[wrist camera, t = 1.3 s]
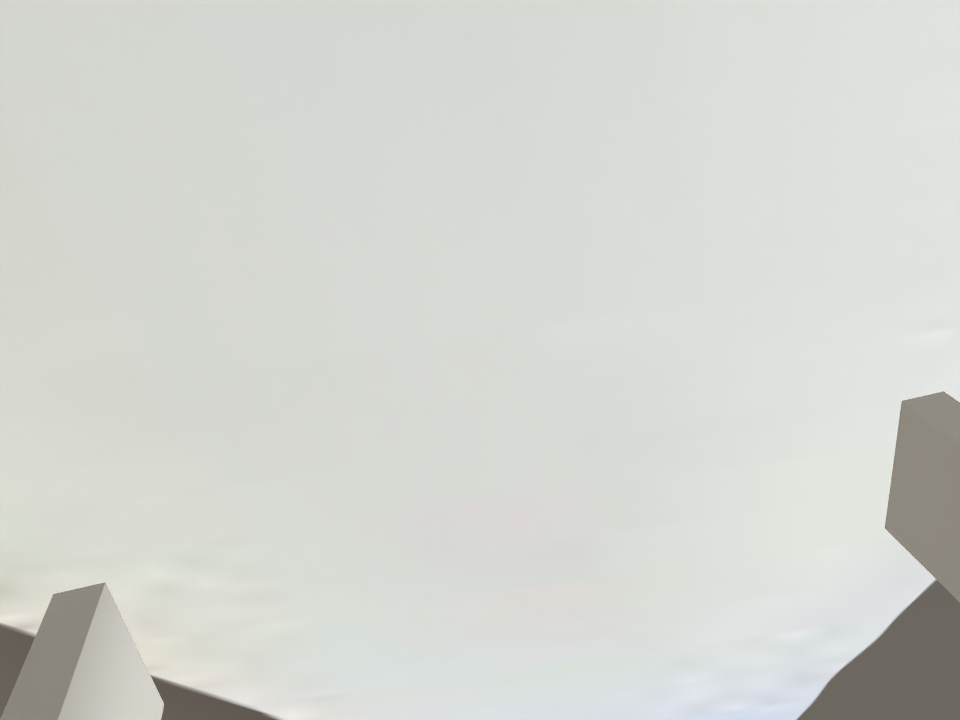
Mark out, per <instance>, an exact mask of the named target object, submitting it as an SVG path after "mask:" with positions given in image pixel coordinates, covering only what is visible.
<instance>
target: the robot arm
mask: <svg viewBox="0 0 960 720" xmlns="http://www.w3.org/2000/svg"><path fill="white" fill-rule="evenodd" d="M885 529H886V530H887V531H888V532H889V533H890V534H891V535H892V536H893V537H894V538H895V539H896V540H897V541H898V542H899V543H900V544H901V545H902V546H903V547H904V548H905V549H906V550H908V551H909V552H910V553H911V554H912V555H913V556H914V557H915V558H916V559H917V560H918V561H919V562H920V563H921V564H922V565H923V566H924V567H925V568H926V569H927V570H928V571H929V572H930V573H931V574H932V575H933V576H934V577H935V578H936V579H937V580H938V581H939V582H940V583H941V584H942V585H943V586H944V587H945V588H946V589H947V590H948V591H949V592H950V593H951V594H952V595H953V596H954V597H955V598H956V599H957V600H958V601H959V602H960V402H958V401H957V400H955V399H954V398H952V397H951V396H949V395H948V394H946V393H945V392H940V393H935V394H931V395H927V396H922V397H918V398H913V399H909V400H905V401H902V404H901V411H900V419H899V426H898V434H897V441H896V449H895V456H894V464H893V471H892V478H891V486H890V493H889V501H888V508H887V516H886V523H885ZM163 707H164V703H163V701H162V699H161V697H160V695H159V693H158V691H157V688H156V686H155V684H154V682H153V680H152V678H151V676H150V674H149V672H148V670H147V668H146V666H145V664H144V662H143V659H142V657H141V655H140V653H139V651H138V649H137V647H136V645H135V643H134V641H133V639H132V637H131V635H130V633H129V631H128V628H127V626H126V624H125V622H124V620H123V618H122V616H121V614H120V612H119V610H118V608H117V606H116V604H115V602H114V599H113V597H112V595H111V593H110V591H109V589H108V587H107V585H106V583H101V584H97V585H92V586H88V587H83V588H79V589H75V590H70V591H66V592H61V593H57V594H53V597H52V599H51V601H50V604H49V606H48V608H47V611H46V613H45V616H44V618H43V620H42V623H41V625H40V627H39V630H38V632H37V634H36V637H35V639H34V642H33V644H32V646H31V649H30V651H29V653H28V656H27V658H26V661H25V663H24V665H23V668H22V670H21V672H20V675H19V677H18V680H17V682H16V684H15V687H14V689H13V691H12V694H11V696H10V698H9V701H8V703H7V706H6V708H5V710H4V713H3V715H2V717H1V720H161V717H162V712H163Z"/></svg>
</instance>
